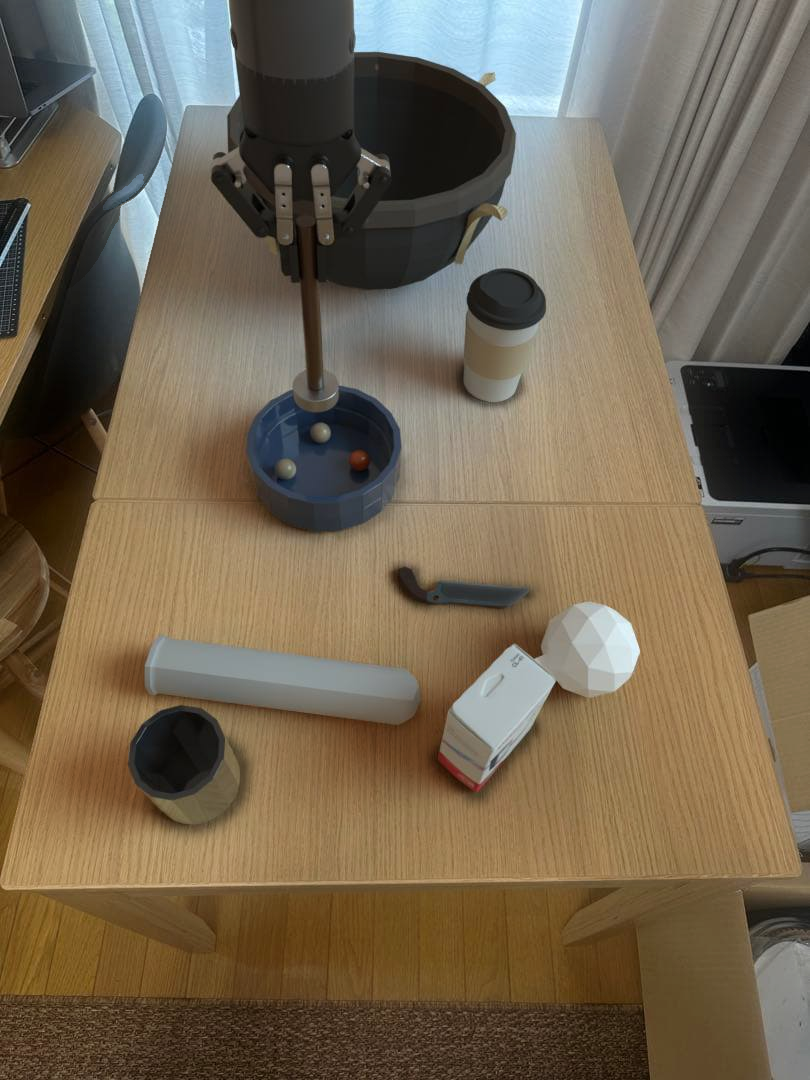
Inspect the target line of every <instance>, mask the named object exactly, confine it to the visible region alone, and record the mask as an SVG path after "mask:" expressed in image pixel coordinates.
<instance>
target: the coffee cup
mask: <svg viewBox="0 0 810 1080" xmlns="http://www.w3.org/2000/svg"><path fill="white" fill-rule="evenodd" d="M545 295H546V294H545V293H544V291H543V289H542V288H541V287H540V286H539V284H538V283H537V282H536V280H535V279H534V278H533V277H532V276H530V275H529V274H527V273H525V272H523V271H521V270H518V269H514V268H508V267H501V268H494V269H492V270H489V271H487V272H485V273H483V274H481V275H479V276H477V277H476V278H475V279H474V280H473V281H472V282H471V284H470V286H469V289H468V292H467V295H466V305H467V311H466V313H465V323H464V325H465V326H464V327H465V328H464V345H463V358H464V363H463V364H464V365H463V386H464V388H465V389H466V391H467V392H468V393H469V394H470V395H472V396H473V397H474V398H475V399H479V400H481V401H484V402H489V403H499V402H504V401H506V400H508V399H510V398H511V397H512V396H513V395H514V394H515V392H516V390H517V388H518V385H519V382H520V378H521V376H522V375H523V371H524V370H525V368H526V365H527V363H528V361H529V357H530V355H531V351H532V349H533V346H534V343H535V342H536V338H537V335H538V332H539V330H540V323H541V320H542V319H543V318H544V316H545V314H546V311H547V299H546V296H545Z"/></svg>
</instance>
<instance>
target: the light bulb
mask: <svg viewBox="0 0 810 1080" xmlns="http://www.w3.org/2000/svg"><path fill="white" fill-rule="evenodd" d="M540 649H541V654H542V655H540V656H537V657H535V658H534V659H535V660H536V661H537V662H538V663H539V664H540V665H541V666H543V667H544V668H545V669H546V670H547V671H548V672H549V673H550V674H551V675H552V676H553V677H554V678H555V679H556V682H557V683H558V684H559V685H560V687H561V688H562V689H563V690H566V691H567V692H568V691H569V692H571V693H573V694H576V695H579V696H582V697H584V698H587V699H591V698H595V697H599V696H604V695H607V694H611V693H615V692H616V691H617V690H618V689H620V687H621V686H622V685H624V684H625V683H626V682H627V681H628V680H629V679H630V678H631V677H632V675H633V673H634V670H635V668H636V664H637V662H638V659H639V657H640V653H641V650H640V647H639V643H638V641H637V638H636V635H635V631H634V629H633V626H632V623H631V622H630V621H629V620H627V618H625V617H624V616H622V614H620V613H619V611H617V610H615V609H614V608H611V607H610V606H608V605H605V604H602V603H598V602H594V601H593V600H592V601H591V600H589V601H583V602H580V603H573V604H572V605H570V606H568V607H567V608H565V609H563V610H562V611H561V612H559V613H558V614H557V615H555V616H554V617H552V618H551V619H549V620H548V624H547V626H546V630H545V632H544V635H543V639H542V641H541V644H540Z"/></svg>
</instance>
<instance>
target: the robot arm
mask: <svg viewBox="0 0 810 1080" xmlns="http://www.w3.org/2000/svg"><path fill="white" fill-rule="evenodd" d="M228 8H229V9H228V10H229V20H230V28H229V32H230V33H229V34H230V41H231V45H232V48H233V52H234V58H235V59H234V61H235V69H236V75H237V83H238V85H237V86H238V91H239V95H240V101H241V109H242V117H243V125H244V128H243V131H242V134H241V136H240V145H239V147H238V148H236V149H234V150H233V151H231V152H229V153H228V152H227V153H225V152H222V151H218V152H215V154H213V156H212V163H211V171H210V172H211V173H210V180H211V183H212V184H213V185H214V187H215V188H216V189H217V191H219V193H220V194H221V195H222V197H223V196H224V198H225V199H226V200H227V201H228V203H229V204H228V205H230V206H231V207H232V209H233V210H234V211H235V212H236V214H237V216H239V218H240V219H241V220H242V222H243V223H244V224H245V225H246V226H247V227H248V229H249V230H250V231H251V232H252V234H253V235H254V236H255V237H256V238H259V239H264V238H266V236H270V237H273V238H275V239H276V240H277V241H278V243H279V249H280V250H279V256H280V257H279V258H280V268H281V273H282V274H283V276H284V277H290V283H291V284H300V275H299V261H298V248H297V237H296V228H294V222H293V202H296V201H300V200H306V201H310V202H314V204H315V213H316V220H317V239H316V245H317V265H318V283H319V284H320V283H323V284H327V283H328V281H327V276H333V274H334V272H335V252H334V244H335V241H336V240H337V239H338V238H340V237H343V236H345V237H347V238H352V237H354V236H356V234H357V233H358V231H359V230H360V228H361V227H362V225H363V224H364V223H365V221H366V220H367V218H368V217H369V215H370V214H371V212H372V211H373V209H374V208H375V206H376V205H377V203H378V202H379V200H380V199H381V197H382V196H383V194H384V193H385V191H386V190H387V188H388V187H389V185H390V184H391V180H392V179H391V171H390V163H389V158H388V156H387V155H385V154H378V155H376V156H374V155H372V154H371V153H369V152H367V151H366V150H364V149H362V148H361V142H360V138H359V136H358V134H357V133H356V131H355V128H354V52H355V48H356V41H357V40H356V39H357V37H356V30H355V1H354V0H228ZM246 165H247V166H248V167H249V169H250V170H251V171H252V172H253V173H254V174H255V175H256V177H257V178H258V179H259V180H260V181H261V182H262V183H263V185H264V186H265V187H266V188H267V189H268V190H269V191H270V192H271V193H272V194H273V195H274V196H275V202H276V213H275V212H272V211H269V209H268V208H267V206H266V205H265V204H264V202H263V201H262V200H261V198H260V197H259V196H258V195H257V193H256V192H255V191H254V189H253V188H252V187H251V185H250V184H249V183H248V181H247V170H246V168H245V166H246ZM356 166H357V167H358V171H357V178H358V184H357V185H356V187H355V188H354V190H353V192H352V193H351V195H350V196H349V198H348V199H347V201H346V203H345V204H344V206H343V207H342V209H341V211H339V212H336V213H333V209H332V196H333V195H334V194H335V193H336V192H337V190H338V189H339V188H340V186H341V185H342V184H343V182H344V181H345V180H346V179H347V177H348V176H349V175H350V173H351V172H352V171H353V169H354V168H355V167H356ZM224 198H223V199H224ZM225 199H224V200H225Z"/></svg>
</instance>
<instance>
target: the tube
mask: <svg viewBox="0 0 810 1080" xmlns="http://www.w3.org/2000/svg"><path fill="white" fill-rule="evenodd" d="M145 660H146V661H145V662H144V666H143V667H144V669H143V670H144V671H143V674H144V675H143V677H144V679H143V680H144V684H143V685H144V688H145V689H146V690H147V693H148V694H149V696H154V697H155V696H157V695H159V694H160V695H167V696H175V697H184V698H190V699H198V700H206V701H207V700H208V701H214V702H221V703H229V704H236V705H244V706H252V707H260V708H267V709H274V710H283V711H288V712H289V711H290V712H297V713H306V714H314V715H321V716H328V717H335V718H342V719H343V718H344V719H349V720H350V719H352V720H358V721H366V722H374V723H381V724H389V725H396V726H399V725H401V724H404V723H405V722H407V721H409V720H411V719H412V718H413V717H414V716H415V715H416V712H417V710H418V708H419V705H420V703H421V700H422V698H421V693H420V692H421V691H420V688H419V683H418V681H417V678H416V677H415V676H414V675H413V674H412V673H411V672H410V671H408V669H406V668H403V667H394V666H388V665H387V666H386V665H377V664H371V663H363V662H355V661H349V660H342V659H332V658H326V657H319V656H316V657H315V656H310V655H302V654H294V653H287V652H279V651H273V650H265V649H264V650H263V649H256V648H248V647H241V646H233V645H225V644H219V643H210V642H203V641H196V640H195V641H194V640H188V639H179V638H172V637H167V635H166V634H164V633H163V634H162V633H160V634H158V636H157V637H156V638H155V640H154V641H153V642H152V643H151V645H150V648H149V651H148V654H147V657H146V659H145Z"/></svg>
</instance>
